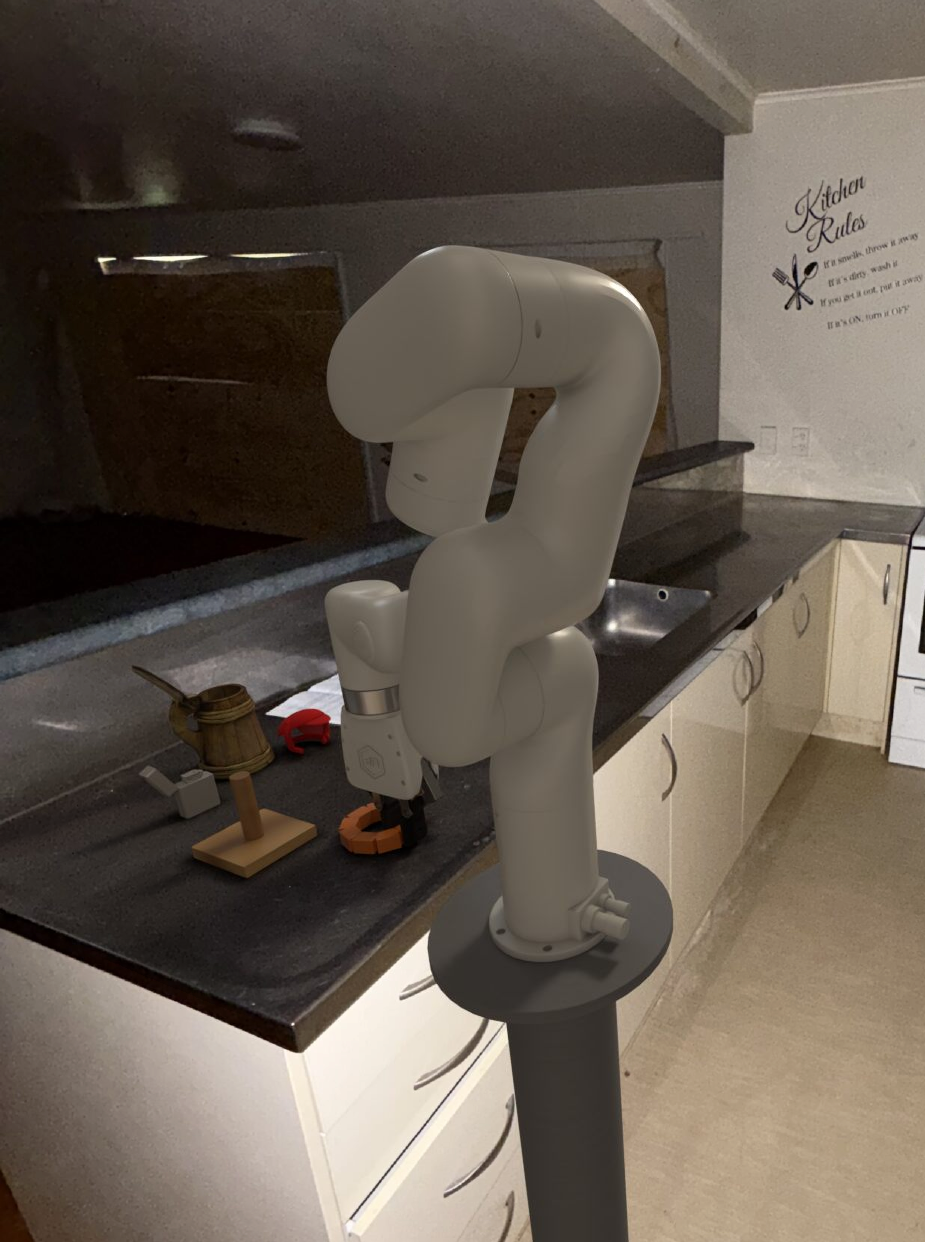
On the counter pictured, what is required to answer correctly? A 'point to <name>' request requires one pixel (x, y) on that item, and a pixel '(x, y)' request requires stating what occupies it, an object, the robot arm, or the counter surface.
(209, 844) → the stand
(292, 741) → the red helmet
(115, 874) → the counter surface
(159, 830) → the counter surface
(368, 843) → the ring
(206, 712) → the wooden mug
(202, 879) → the counter surface
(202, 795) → the lighter
